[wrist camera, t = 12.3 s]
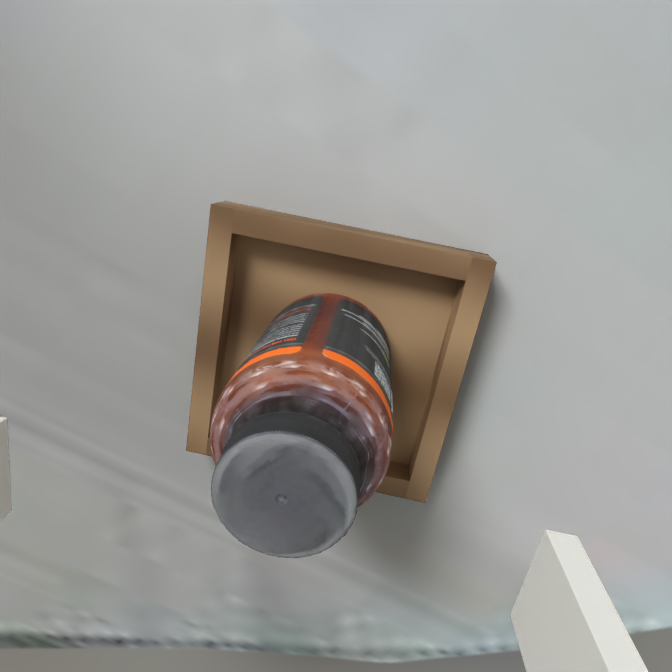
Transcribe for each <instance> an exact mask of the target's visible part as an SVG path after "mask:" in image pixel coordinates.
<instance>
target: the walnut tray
mask: <svg viewBox="0 0 672 672" xmlns="http://www.w3.org/2000/svg"><path fill="white" fill-rule="evenodd" d="M496 263H497V262H496V261H495V260H494V259H492V258H491V257H490V256H489V255H488V254H483V253H479V252H474V251H469V250H464V249H459V248H454V247H449V246H444V245H439V244H434V243H429V242H424V241H419V240H414V239H409V238H405V237H400V236H395V235H390V234H385V233H380V232H375V231H370V230H365V229H360V228H355V227H350V226H345V225H340V224H335V223H330V222H326V221H321V220H316V219H311V218H306V217H301V216H296V215H291V214H286V213H281V212H276V211H271V210H266V209H261V208H256V207H252V206H247V205H242V204H237V203H232V202H227V201H224V202H219V203H214V204H211V209H210V219H209V229H208V238H207V248H206V258H205V268H204V278H203V288H202V298H201V308H200V317H199V327H198V337H197V347H196V357H195V367H194V377H193V387H192V396H191V406H190V416H189V426H188V436H187V446H186V451H190V452H194V453H199V454H203V455H208V456H213V454H212V451H211V443H210V428H211V421H212V416H213V412H214V409H215V406H216V403H217V401H218V399H219V397H220V395H221V393H222V391H223V390H224V388H225V387H226V385H227V384H228V383H229V381H230V380H231V378H232V377H233V375H234V374H235V372H236V371H237V370H238V368H239V367H240V365H241V364H242V363H243V361H244V360H245V358H246V357H247V356H248V354H249V353H250V351H251V350H252V348H253V347H254V346H255V344H256V343H257V341H258V340H259V339H260V337H261V336H262V335H263V333H264V332H265V330H266V329H267V327H268V326H269V325H270V323H271V322H272V320H273V319H274V318H275V317H276V316H277V315H278V313H280V312H281V311H282V310H283V309H284V308H285V307H286V306H288V305H289V304H290V303H292V302H293V301H295V300H297V299H299V298H302V297H305V296H307V295H311V294H316V293H332V294H339V295H343V296H347V297H349V298H352V299H354V300H356V301H358V302H360V303H362V304H363V305H365V306H366V307H367V308H368V309H369V310H371V311H372V312H373V314H374V315H375V316H376V317H377V318H378V319H379V321H380V322H381V324H382V326H383V328H384V330H385V331H386V334H387V337H388V340H389V345H390V350H391V371H392V404H393V446H392V455H391V459H390V463H389V467H388V470H387V472H386V475H385V476H384V479H383V481H382V483H381V484H380V486H378V488H377V489H376V491H375V492H378V493H383V494H387V495H392V496H397V497H401V498H406V499H410V500H415V501H420V502H424V503H425V502H426V499H427V496H428V492H429V489H430V486H431V482H432V479H433V475H434V472H435V469H436V465H437V462H438V459H439V455H440V452H441V448H442V445H443V442H444V438H445V435H446V432H447V428H448V425H449V422H450V418H451V415H452V411H453V408H454V405H455V401H456V398H457V395H458V391H459V388H460V385H461V381H462V378H463V374H464V371H465V368H466V364H467V361H468V358H469V354H470V351H471V347H472V344H473V341H474V337H475V334H476V331H477V327H478V324H479V321H480V317H481V314H482V310H483V307H484V304H485V300H486V297H487V294H488V290H489V287H490V283H491V280H492V277H493V273H494V270H495V267H496Z"/></svg>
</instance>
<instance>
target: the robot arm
mask: <svg viewBox="0 0 672 672" xmlns="http://www.w3.org/2000/svg"><path fill="white" fill-rule="evenodd" d="M11 510H12V504H11V482H10V461H9V440H8V418H6V417H1V416H0V521H1V520H2V519H3V518H4V517H5V516H6V515H7V514H8V513H9V512H10V511H11ZM510 616H511V619H512V623H513V626H514V630H515V633H516V637H517V640H518V644H519V647H520V651H521V654H522V657H523V661H524V664H525V668H526V671H527V672H648V670H647V668H646V666H645V665H644V663H643V661H642V659H641V657H640V655H639V653H638V651H637V649H636V647H635V645H634V644H633V642H632V640H631V638H630V636H629V634H628V632H627V630H626V628H625V626H624V624H623V623H622V621H621V619H620V617H619V615H618V613H617V611H616V609H615V607H614V605H613V603H612V602H611V600H610V598H609V596H608V594H607V592H606V590H605V588H604V586H603V584H602V583H601V581H600V579H599V577H598V575H597V573H596V571H595V569H594V567H593V565H592V563H591V562H590V560H589V558H588V556H587V554H586V552H585V550H584V548H583V546H582V544H581V542H580V541H579V539H578V537H577V536H574V535H569V534H565V533H560V532H555V531H550V530H545V531H544V534H543V536H542V539H541V541H540V544H539V546H538V548H537V551H536V553H535V556H534V558H533V561H532V563H531V565H530V568H529V570H528V573H527V575H526V578H525V580H524V582H523V585H522V587H521V590H520V592H519V595H518V597H517V599H516V602H515V604H514V607H513V609H512V612H511V614H510Z"/></svg>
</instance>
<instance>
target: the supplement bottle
mask: <svg viewBox="0 0 672 672" xmlns="http://www.w3.org/2000/svg"><path fill="white" fill-rule="evenodd" d="M210 443H211V451H212V454H213V458H214V461H215V464H216V467H215V470H214V473H213V477H212V484H211V495H212V502H213V505H214V508H215V510H216V513H217V515H218V517H219V519H220V521H221V522H222V523H223V524H224V526H225V527H226V529H227V530H228V531H229V532H230V533H231V534H232V535H233V536H234V537H236V538H237V539H238V540H239V541H240V542H242V543H243V544H245V545H247V546H248V547H250V548H252V549H254V550H256V551H259V552H261V553H265V554H267V555H271V556H277V557H284V558H300V557H305V556H311V555H314V554H318V553H321V552H322V551H324V550H326V549H328V548H330V547H331V546H333V545H334V544H335V543H336V542H338V541H339V540H340V539H341V538H342V537H343V536H345V535H346V533H347V531H348V529H349V528H350V526H351V525H352V523H353V521H354V518H355V515H356V512H357V508H358V507H359V506H360V505H362V504H363V503H364V502H365V501H367V500H368V499H369V498H370V497H371V495H372V494H373V493H374V492H375V491H376V489H377V488H378V486H380V484H381V483H382V481H383V479H384V476H385V475H386V472H387V470H388V467H389V463H390V459H391V455H392V446H393V404H392V371H391V350H390V345H389V340H388V337H387V334H386V331H385V330H384V328H383V326H382V324H381V322H380V321H379V319H378V318H377V317H376V316H375V315H374V314H373V312H372V311H371V310H369V309H368V308H367V307H366V306H365V305H363V304H362V303H360V302H358V301H356V300H354V299H352V298H349V297H347V296H343V295H339V294H332V293H316V294H311V295H307V296H305V297H302V298H299V299H297V300H295V301H293V302H292V303H290V304H289V305H288V306H286V307H285V308H284V309H283V310H282V311H281V312H280V313H278V315H277V316H276V317H275V318H274V319H273V320H272V322H271V323H270V325H269V326H268V327H267V329H266V330H265V332H264V333H263V335H262V336H261V337H260V339H259V340H258V341H257V343H256V344H255V346H254V347H253V348H252V350H251V351H250V353H249V354H248V356H247V357H246V358H245V360H244V361H243V363H242V364H241V365H240V367H239V368H238V370H237V371H236V372H235V374H234V375H233V377H232V378H231V380H230V381H229V383H228V384H227V385H226V387H225V388H224V390H223V391H222V393H221V395H220V397H219V399H218V401H217V403H216V406H215V409H214V412H213V416H212V421H211V428H210Z"/></svg>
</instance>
